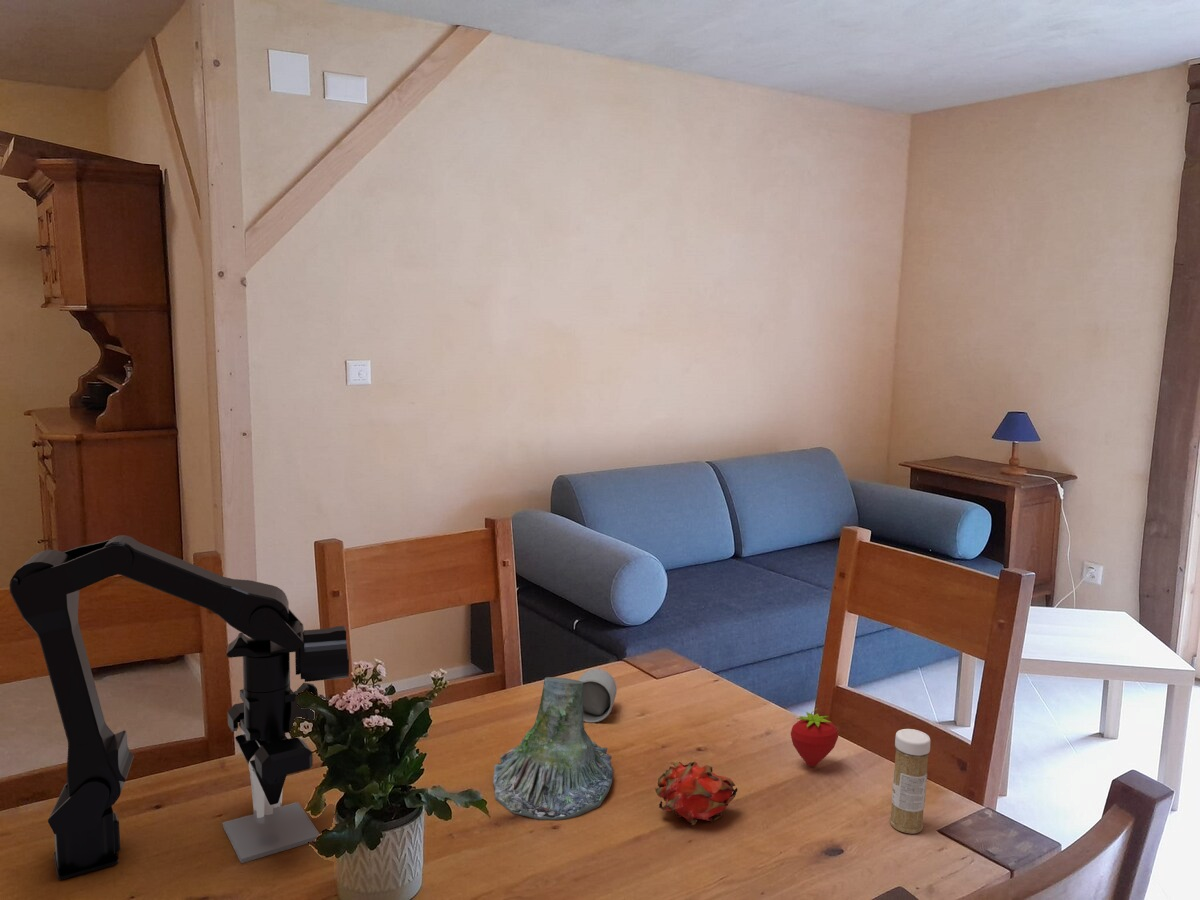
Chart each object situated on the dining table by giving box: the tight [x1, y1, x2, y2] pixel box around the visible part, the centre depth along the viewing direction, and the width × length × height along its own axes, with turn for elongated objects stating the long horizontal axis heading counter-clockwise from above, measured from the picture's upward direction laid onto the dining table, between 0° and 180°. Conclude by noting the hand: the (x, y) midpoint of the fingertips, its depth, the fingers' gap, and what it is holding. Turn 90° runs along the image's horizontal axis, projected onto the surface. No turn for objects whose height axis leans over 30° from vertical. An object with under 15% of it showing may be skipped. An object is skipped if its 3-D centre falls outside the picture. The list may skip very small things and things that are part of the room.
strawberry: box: [790, 708, 839, 768], centre depth 142 cm, size 6×8×10 cm
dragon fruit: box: [654, 761, 738, 826], centre depth 127 cm, size 8×8×12 cm
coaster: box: [222, 801, 320, 864], centre depth 121 cm, size 10×10×1 cm
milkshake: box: [248, 755, 284, 824], centre depth 120 cm, size 5×5×10 cm
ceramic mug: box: [578, 668, 618, 724], centre depth 160 cm, size 11×8×8 cm
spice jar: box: [889, 728, 931, 834], centre depth 125 cm, size 5×5×13 cm
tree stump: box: [492, 676, 614, 821], centre depth 136 cm, size 18×20×18 cm
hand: (269, 796), depth 120 cm, fingers closed on milkshake, 4 cm apart
